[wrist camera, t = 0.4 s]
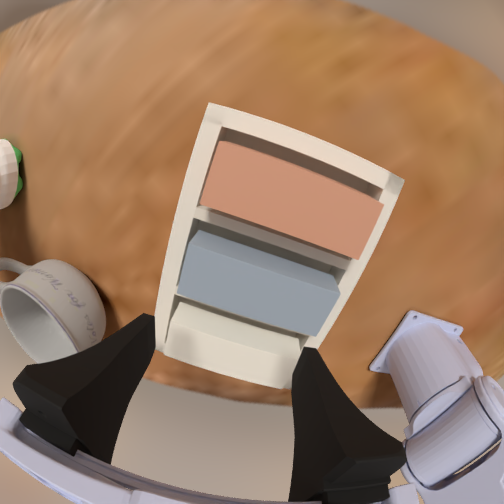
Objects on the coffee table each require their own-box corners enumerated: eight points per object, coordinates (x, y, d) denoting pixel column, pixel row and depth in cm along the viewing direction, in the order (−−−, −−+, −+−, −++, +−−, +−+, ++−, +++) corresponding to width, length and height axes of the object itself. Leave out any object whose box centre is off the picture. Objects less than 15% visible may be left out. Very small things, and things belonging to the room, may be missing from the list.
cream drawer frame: (384, 173, 18) (404, 180, 15) (288, 363, 26) (290, 389, 23) (219, 109, 18) (208, 102, 14) (162, 324, 25) (149, 347, 22)
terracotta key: (369, 195, 16) (384, 204, 14) (347, 245, 18) (358, 260, 15) (226, 140, 16) (219, 140, 13) (209, 195, 17) (199, 204, 15)
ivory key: (298, 338, 21) (301, 360, 19) (281, 367, 22) (281, 389, 20) (180, 301, 20) (170, 321, 18) (172, 334, 22) (163, 354, 19)
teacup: (137, 312, 25) (100, 368, 17) (88, 346, 28) (57, 391, 20) (52, 202, 21) (-7, 229, 14) (18, 259, 24) (-25, 290, 16)
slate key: (332, 275, 19) (340, 293, 16) (311, 315, 20) (316, 336, 18) (199, 229, 18) (188, 243, 16) (186, 275, 19) (176, 293, 17)
